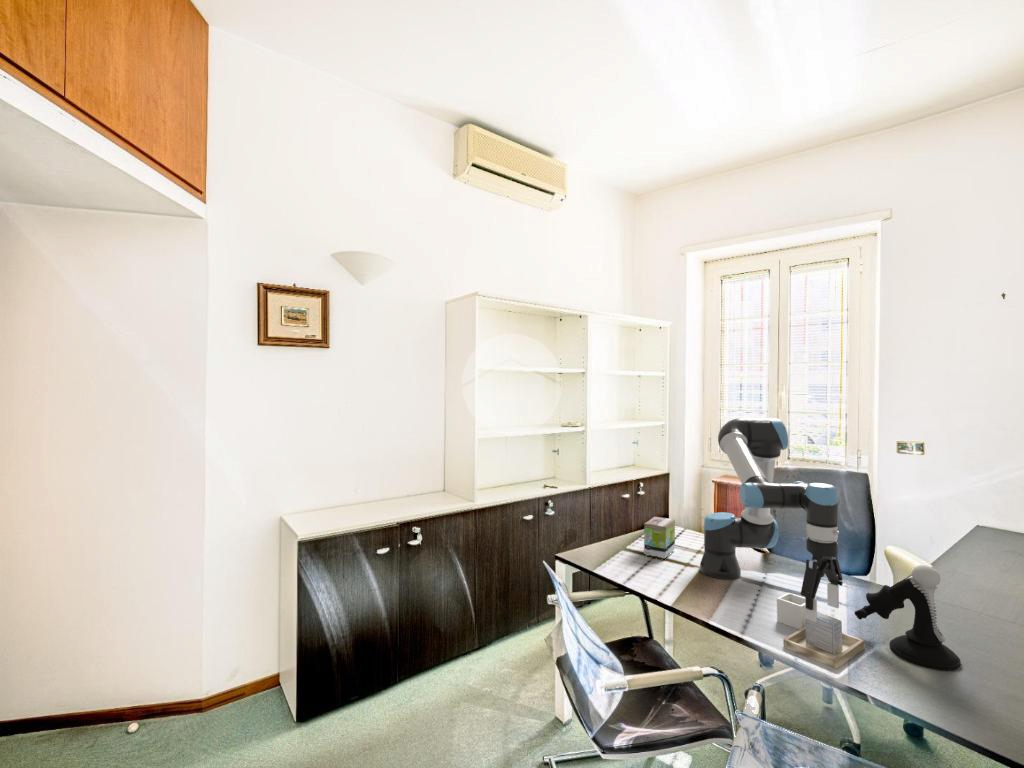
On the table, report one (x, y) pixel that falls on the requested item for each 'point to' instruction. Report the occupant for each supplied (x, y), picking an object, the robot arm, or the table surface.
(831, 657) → the birch tray
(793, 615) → the pen cup
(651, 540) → the tea box
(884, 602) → the sculpture
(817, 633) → the medicine box
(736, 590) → the table surface
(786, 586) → the table surface
